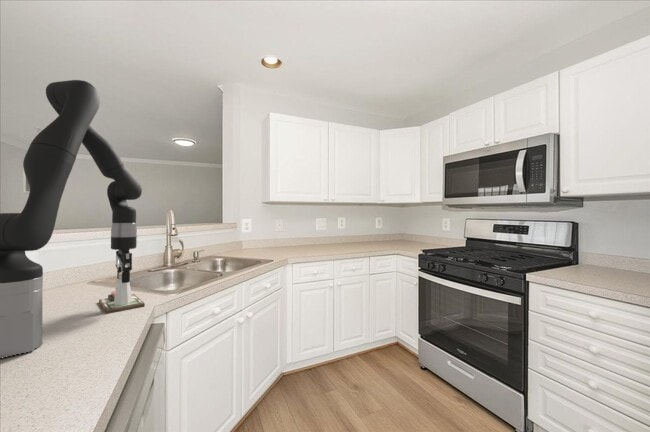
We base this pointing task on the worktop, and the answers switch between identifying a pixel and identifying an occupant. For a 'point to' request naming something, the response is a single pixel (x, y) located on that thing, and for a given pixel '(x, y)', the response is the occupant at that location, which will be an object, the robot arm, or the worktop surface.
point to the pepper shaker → (122, 292)
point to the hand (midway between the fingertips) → (123, 280)
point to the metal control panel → (111, 307)
